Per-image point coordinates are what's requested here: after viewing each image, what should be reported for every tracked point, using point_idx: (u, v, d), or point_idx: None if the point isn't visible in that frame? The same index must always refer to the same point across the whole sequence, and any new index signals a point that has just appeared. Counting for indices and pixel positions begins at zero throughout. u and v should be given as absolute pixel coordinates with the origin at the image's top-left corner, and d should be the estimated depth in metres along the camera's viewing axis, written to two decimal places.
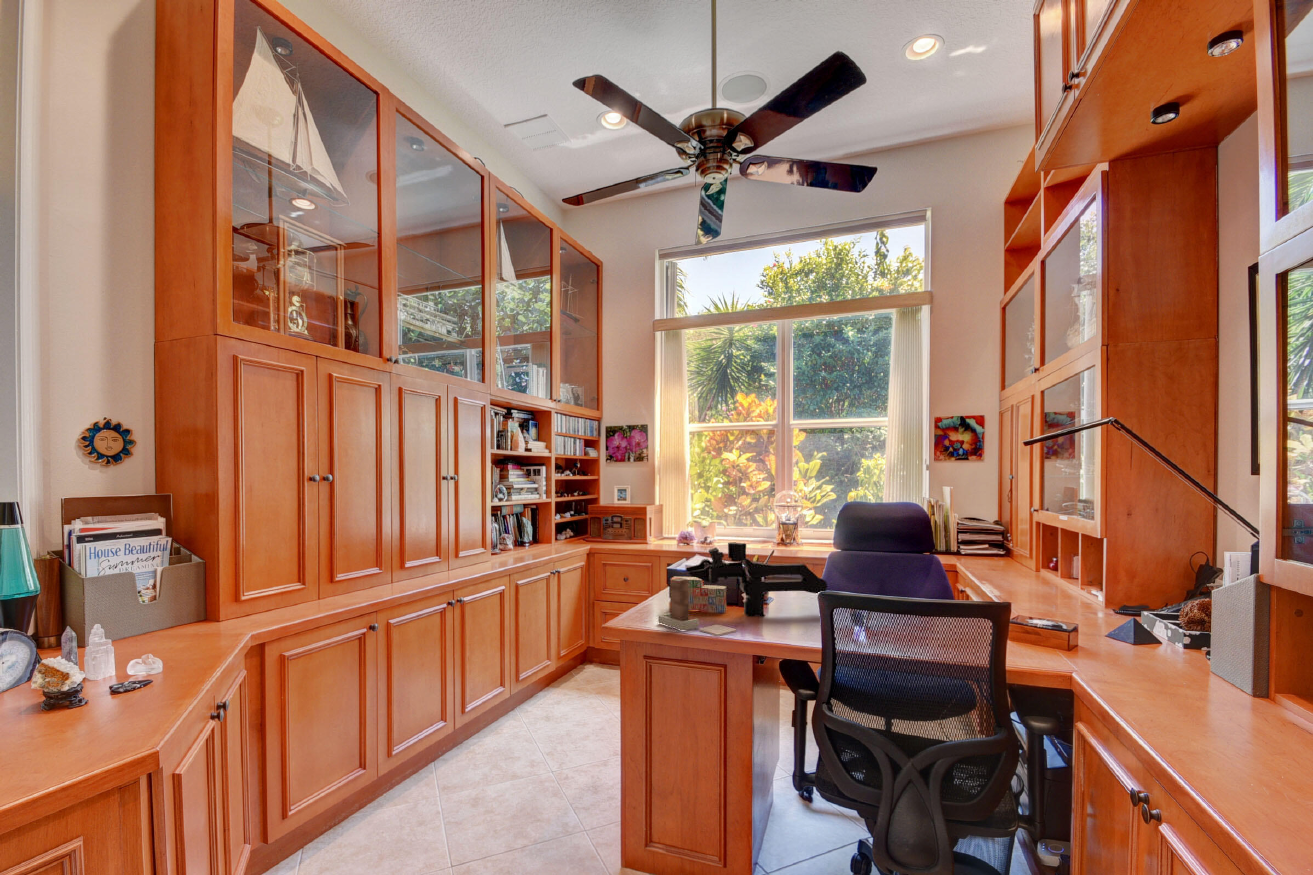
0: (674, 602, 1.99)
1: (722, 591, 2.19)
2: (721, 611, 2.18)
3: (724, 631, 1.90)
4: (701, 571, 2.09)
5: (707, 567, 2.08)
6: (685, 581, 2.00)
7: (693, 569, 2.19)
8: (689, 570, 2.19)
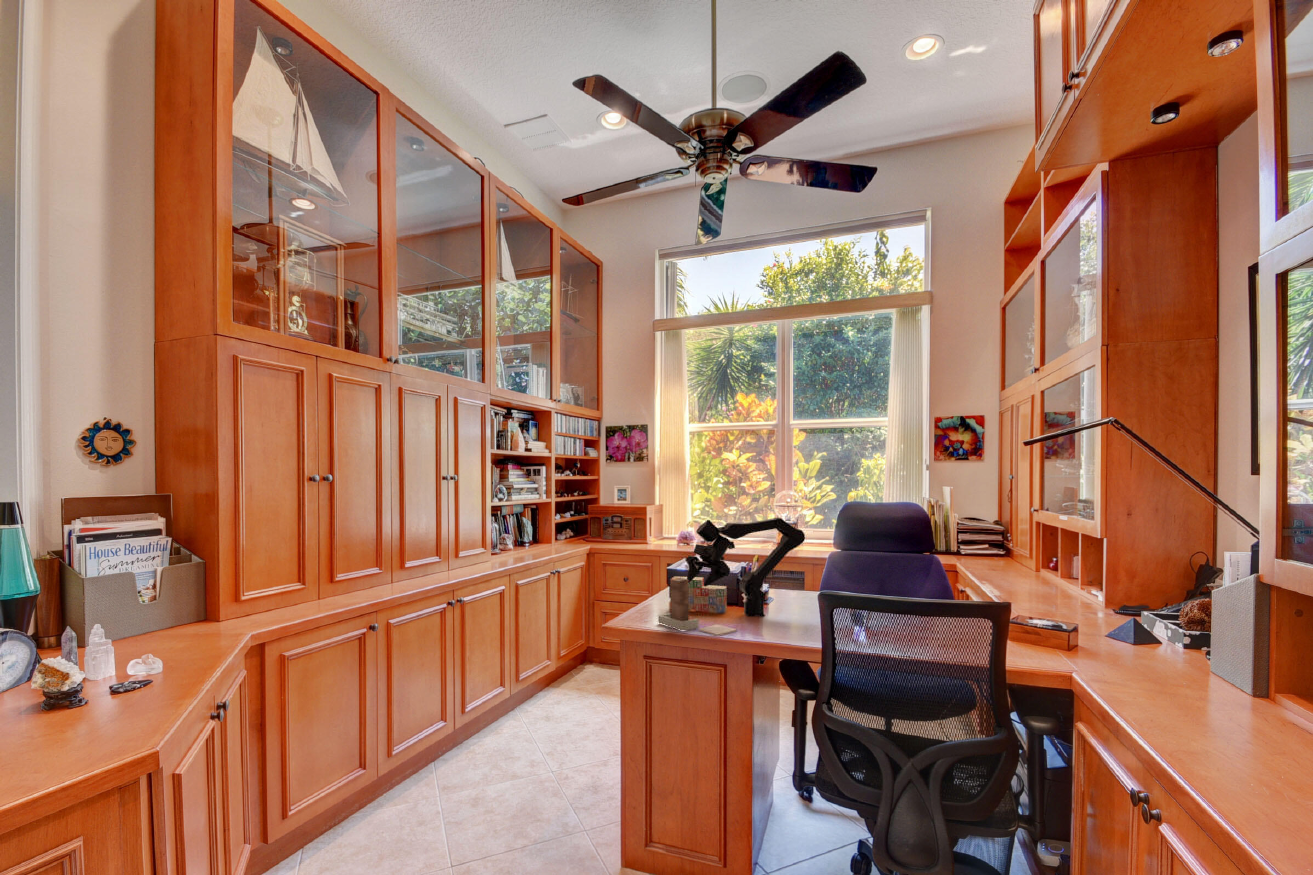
0: (674, 602, 1.99)
1: (723, 591, 2.19)
2: (722, 611, 2.18)
3: (724, 631, 1.90)
4: (712, 575, 2.03)
5: (715, 568, 2.02)
6: (685, 581, 2.00)
7: (691, 576, 2.11)
8: (690, 580, 2.10)
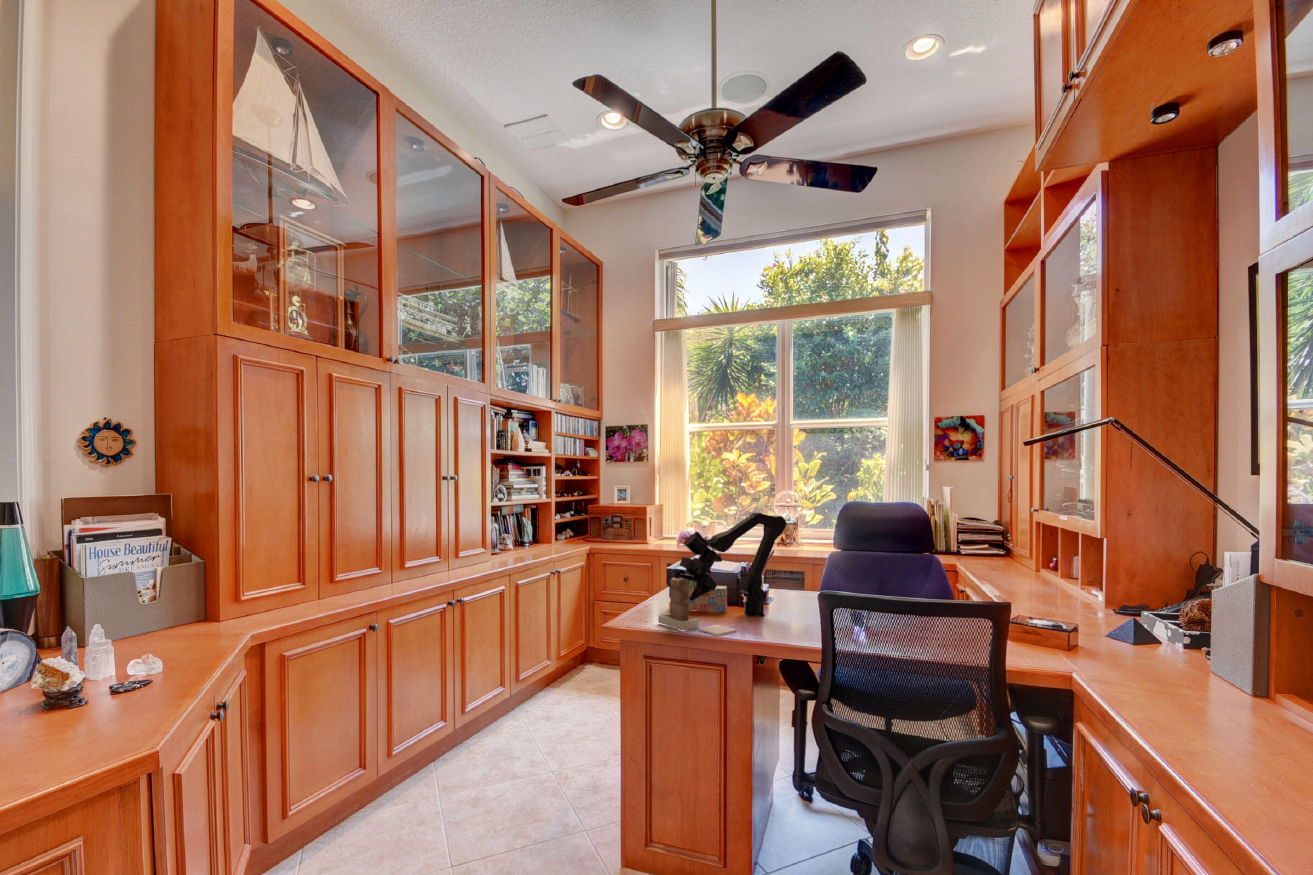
0: (674, 602, 1.99)
1: (723, 591, 2.19)
2: (722, 611, 2.18)
3: (724, 631, 1.90)
4: (698, 589, 1.98)
5: (701, 582, 1.98)
6: (685, 581, 2.00)
7: None
8: None
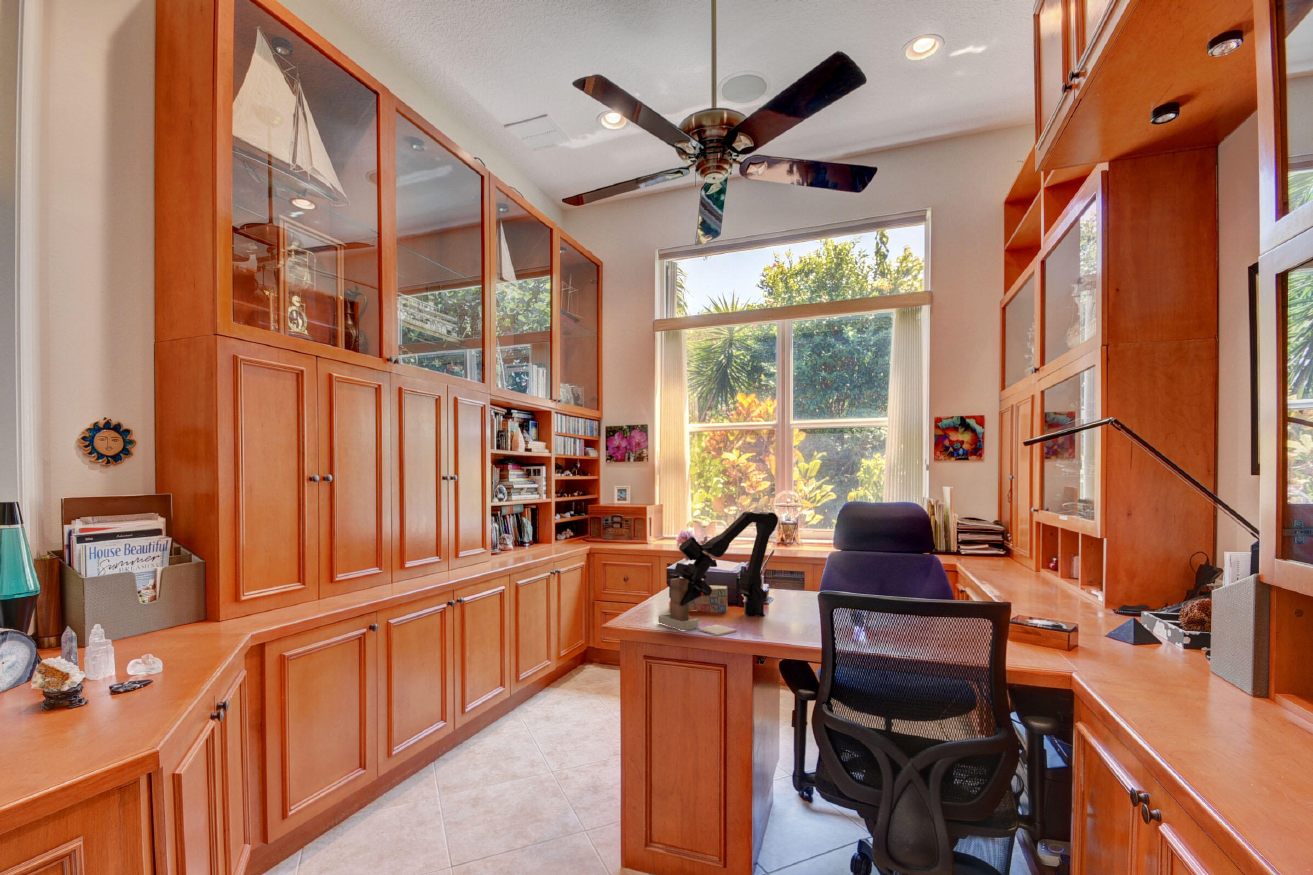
0: (674, 602, 1.99)
1: (724, 591, 2.19)
2: (723, 611, 2.18)
3: (724, 631, 1.90)
4: (689, 594, 1.98)
5: (691, 587, 1.98)
6: (685, 581, 2.00)
7: None
8: None
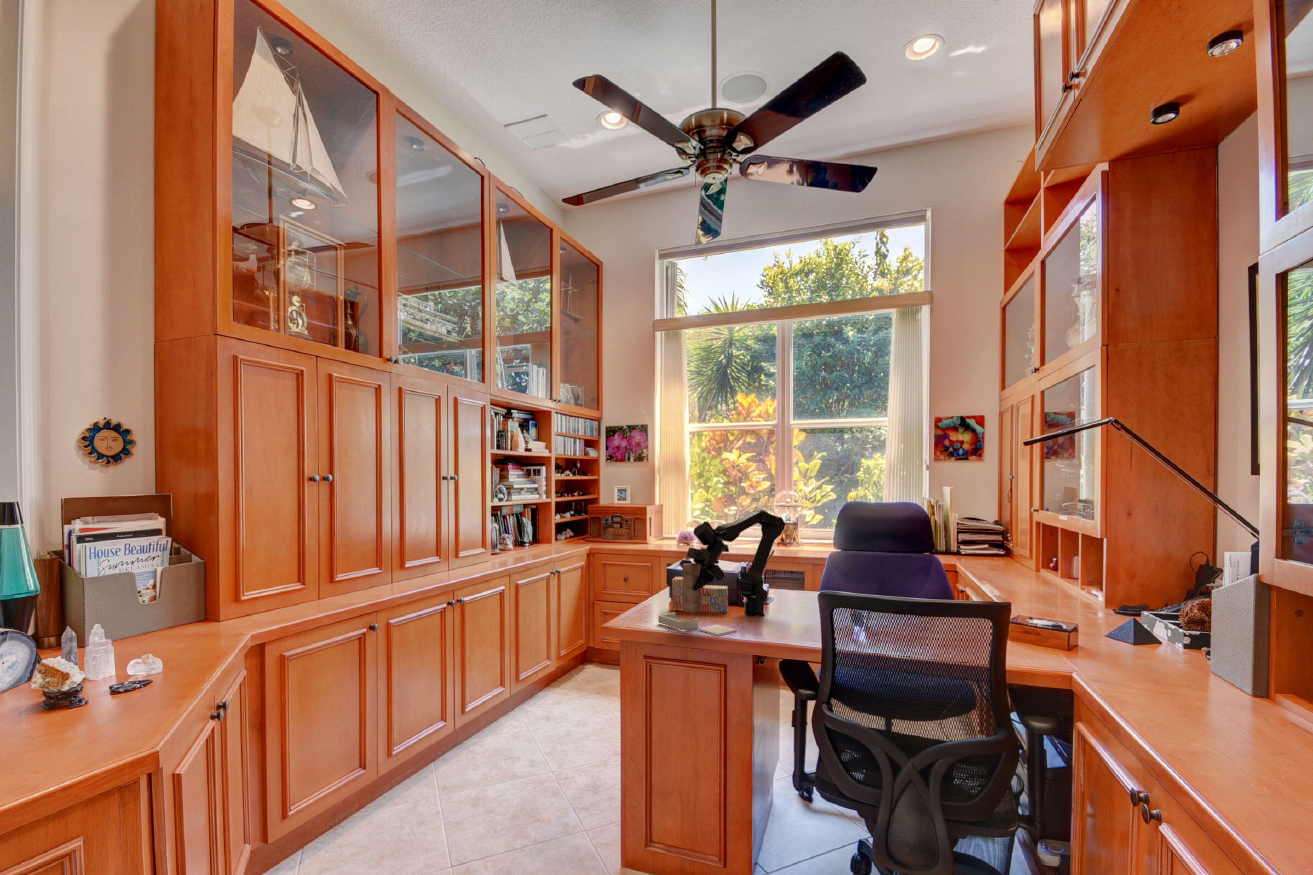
0: (686, 587, 1.97)
1: (725, 591, 2.19)
2: (724, 611, 2.18)
3: (724, 631, 1.90)
4: (701, 579, 1.96)
5: (704, 571, 1.96)
6: (697, 566, 1.98)
7: None
8: None
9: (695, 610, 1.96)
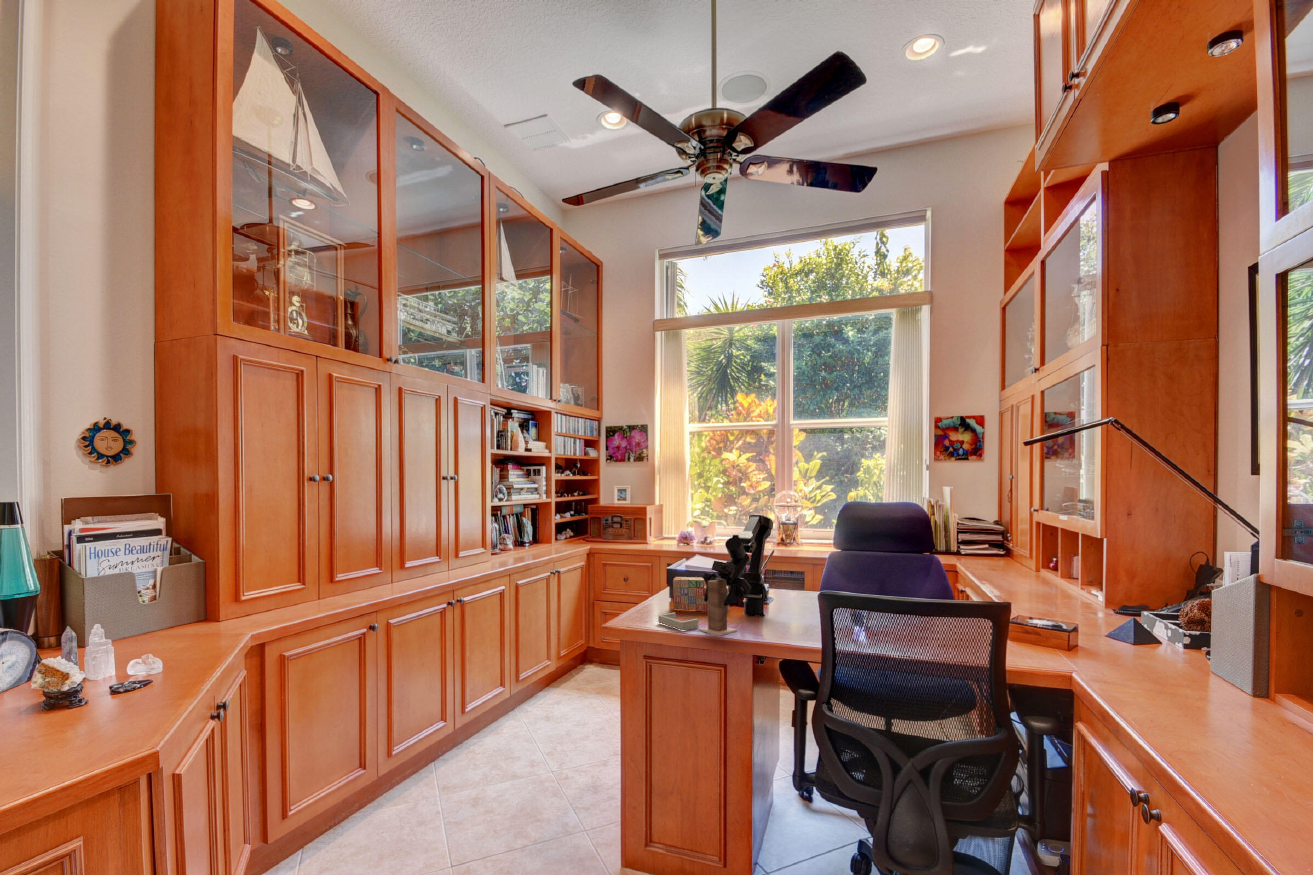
0: (712, 605, 1.92)
1: None
2: None
3: (724, 631, 1.90)
4: (732, 594, 1.90)
5: (735, 586, 1.89)
6: (723, 583, 1.93)
7: None
8: (707, 599, 1.97)
9: (721, 629, 1.91)
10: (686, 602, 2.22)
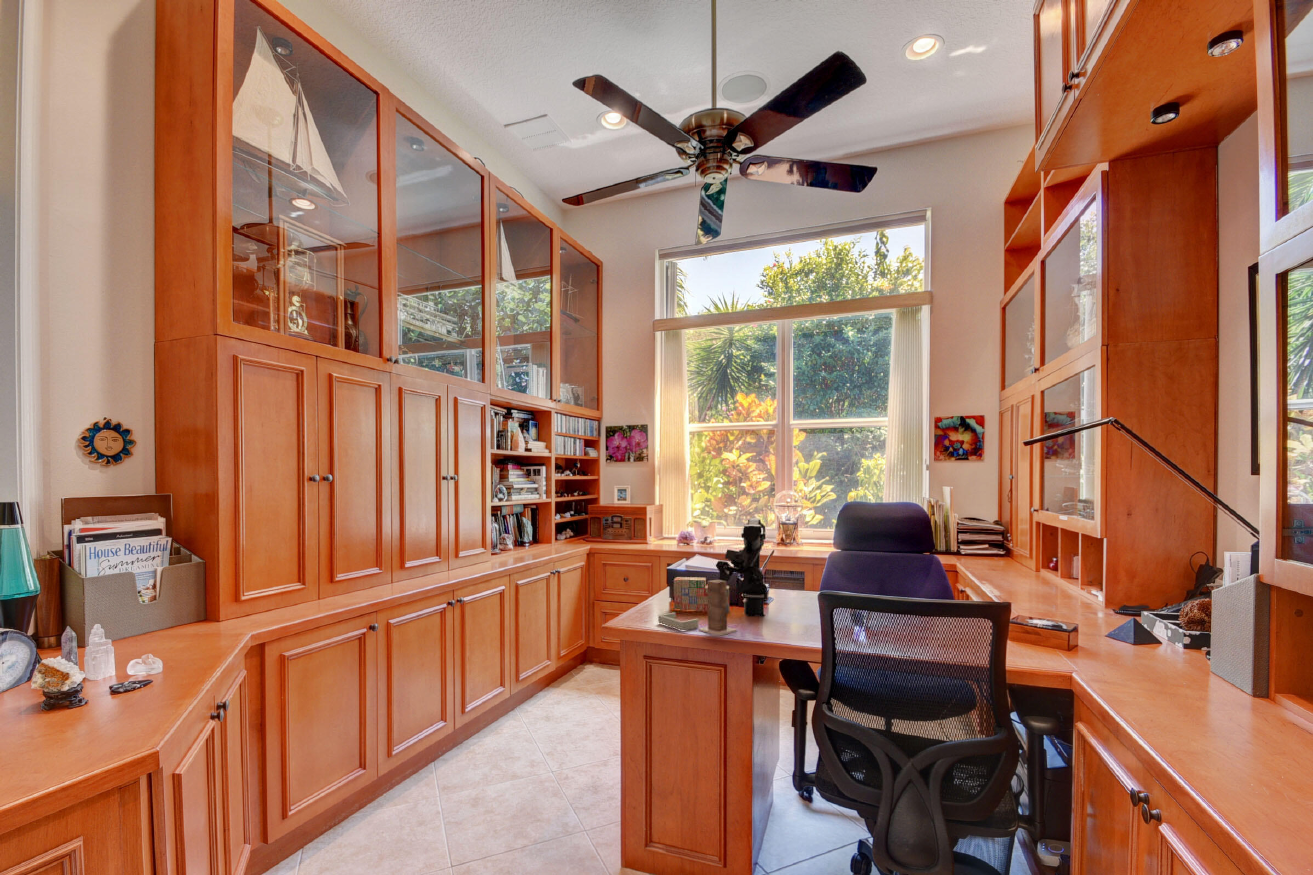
0: (712, 605, 1.92)
1: None
2: None
3: (724, 631, 1.90)
4: (745, 582, 1.94)
5: (748, 574, 1.94)
6: (723, 583, 1.93)
7: None
8: None
9: (721, 629, 1.91)
10: (686, 602, 2.21)
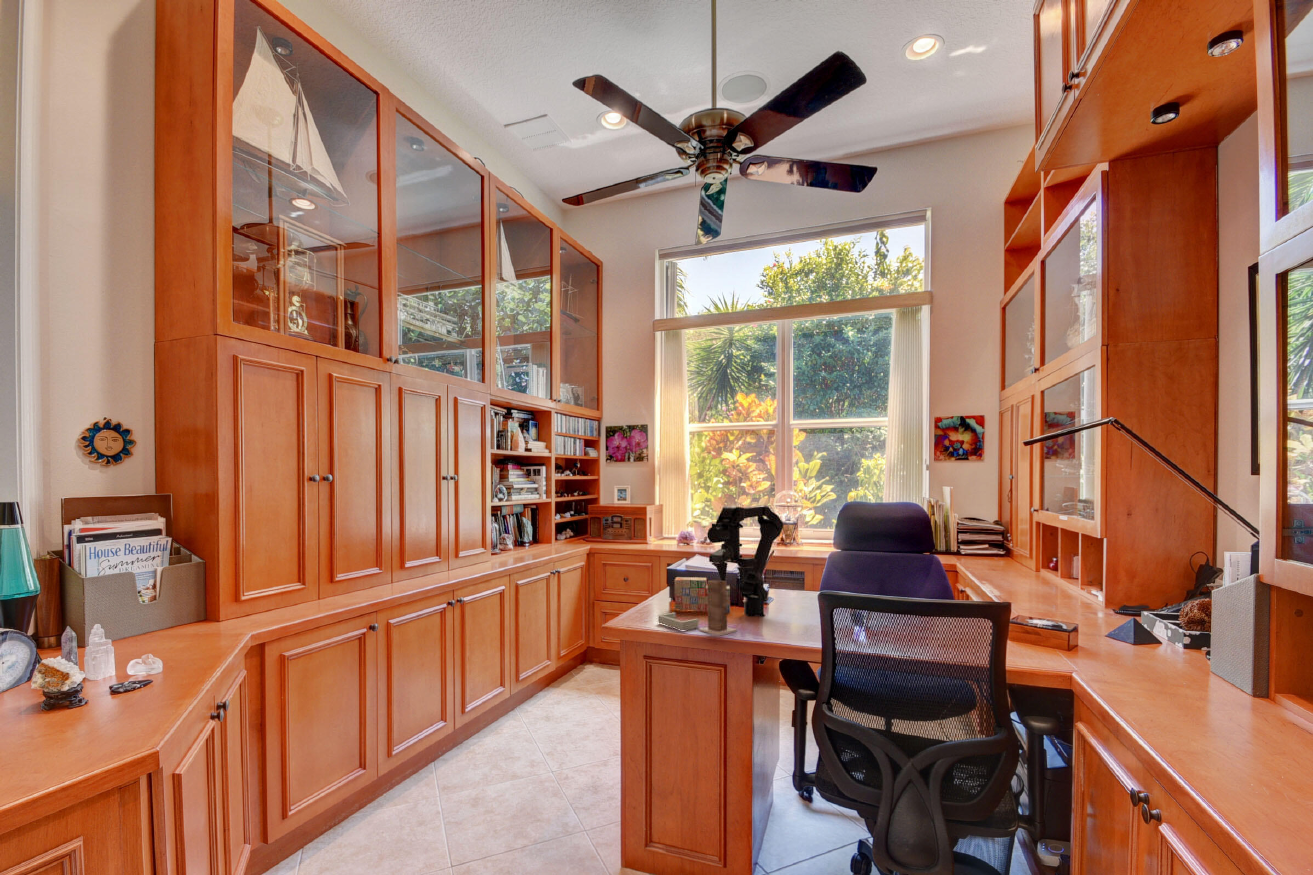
0: (712, 605, 1.92)
1: (727, 591, 2.19)
2: None
3: (724, 631, 1.90)
4: (742, 574, 2.03)
5: (742, 569, 2.01)
6: (723, 583, 1.93)
7: (723, 574, 2.11)
8: (724, 578, 2.11)
9: (721, 629, 1.91)
10: (687, 602, 2.21)
